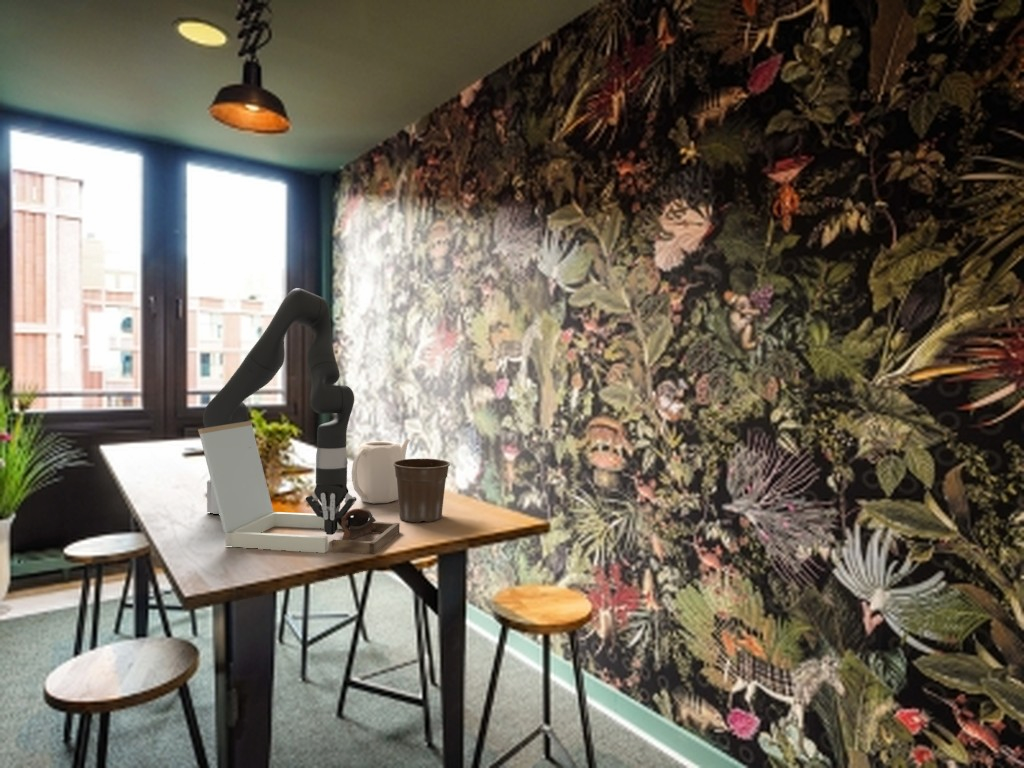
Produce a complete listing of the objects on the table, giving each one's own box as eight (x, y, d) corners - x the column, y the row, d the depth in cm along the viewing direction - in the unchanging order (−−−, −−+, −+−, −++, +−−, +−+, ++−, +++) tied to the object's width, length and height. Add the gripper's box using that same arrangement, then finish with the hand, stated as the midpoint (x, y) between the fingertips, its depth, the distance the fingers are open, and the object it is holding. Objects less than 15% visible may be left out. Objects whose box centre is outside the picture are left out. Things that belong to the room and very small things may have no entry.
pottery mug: (384, 535, 157) (383, 512, 153) (362, 559, 150) (360, 536, 146) (346, 518, 161) (344, 496, 157) (323, 542, 154) (320, 519, 149)
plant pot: (458, 514, 179) (459, 460, 178) (433, 527, 163) (434, 468, 163) (410, 509, 184) (410, 456, 184) (382, 521, 169) (382, 464, 168)
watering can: (426, 495, 204) (427, 440, 203) (371, 511, 181) (371, 448, 180) (391, 490, 212) (392, 436, 211) (334, 504, 189) (334, 444, 188)
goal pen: (331, 551, 142) (331, 541, 141) (361, 530, 160) (361, 521, 160) (374, 553, 140) (374, 543, 140) (399, 532, 158) (399, 522, 158)
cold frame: (198, 545, 145) (197, 428, 144) (247, 523, 165) (247, 420, 165) (324, 552, 140) (325, 432, 139) (359, 528, 161) (359, 423, 160)
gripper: (299, 466, 147) (298, 536, 147) (350, 468, 145) (349, 539, 146) (313, 461, 155) (312, 528, 155) (362, 463, 153) (361, 531, 153)
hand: (330, 533), depth 150 cm, fingers closed
